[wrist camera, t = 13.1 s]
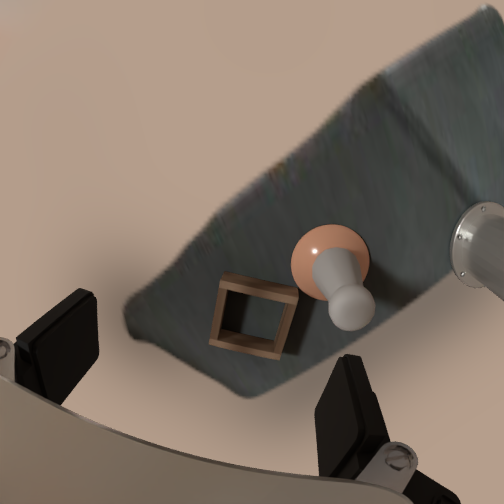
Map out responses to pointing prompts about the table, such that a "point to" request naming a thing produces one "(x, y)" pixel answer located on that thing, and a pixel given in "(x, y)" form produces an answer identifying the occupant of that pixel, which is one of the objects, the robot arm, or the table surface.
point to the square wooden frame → (260, 290)
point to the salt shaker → (343, 288)
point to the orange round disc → (316, 244)
